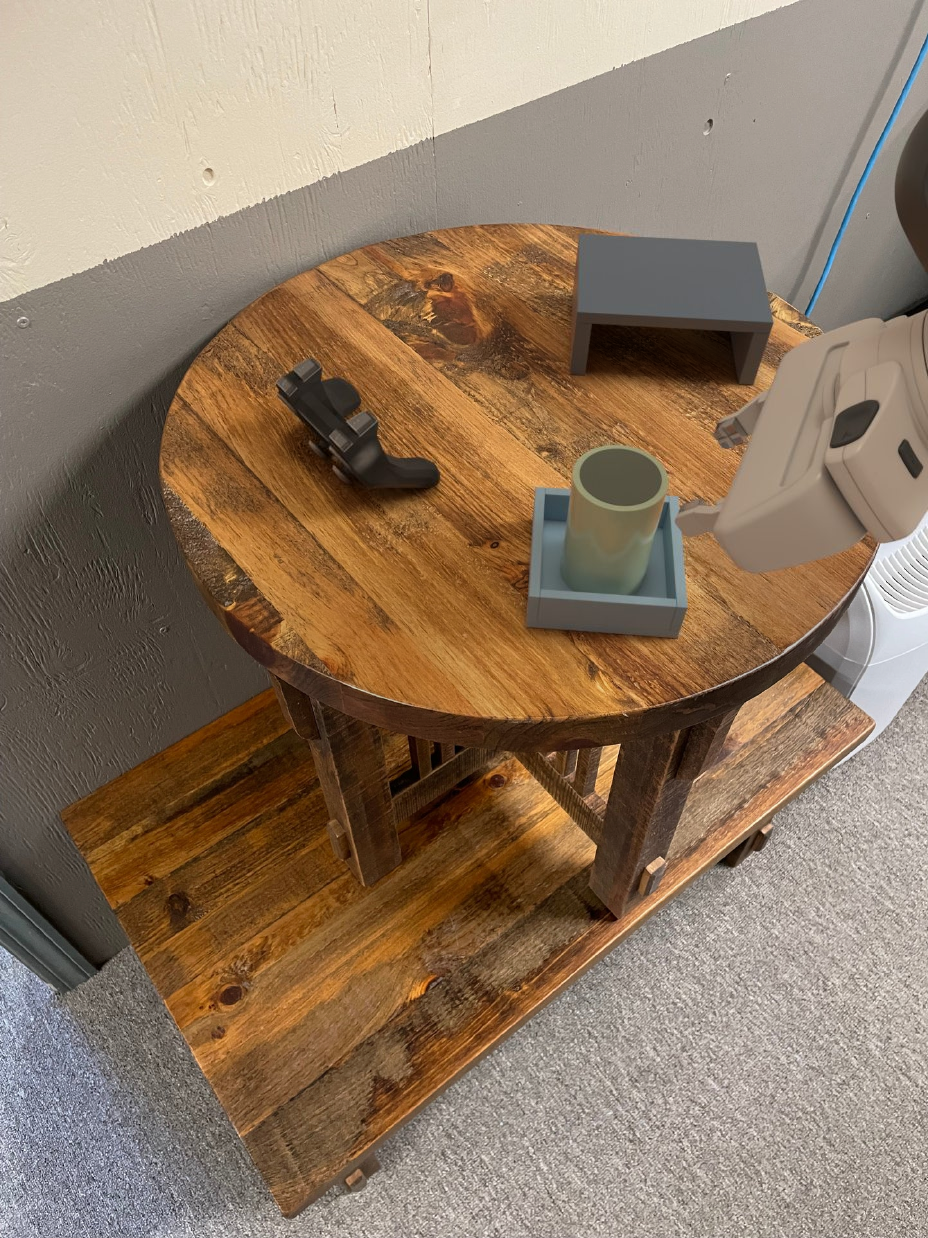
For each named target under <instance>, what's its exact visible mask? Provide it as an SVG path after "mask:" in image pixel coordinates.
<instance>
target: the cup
mask: <svg viewBox="0 0 928 1238" xmlns="http://www.w3.org/2000/svg"><path fill="white" fill-rule="evenodd" d="M669 479H670V478H669V475H668V472H667V469H666V468H665V467H664V465H663V464H662V463H661V461H660V460H659V459H657V458H656V457H655V456H653V455H652V454H650V453H649V452H647V451H645V450H643V449H640V448H637V447H633V446H631V445H630V446H629V445H622V444H608V445H607V444H606V445H602V446H601V445H600V446H598V447H594V448H592V449H590V450H588V451H586V452H584V453H583V454H582V455H581V456H580V457H578V459H577V460H576V461H575V463H574V465H573V468H572V473H571V481H570V487H569V489H570V494H569V502H568V509H567V517H566V524H565V531H564V539H563V546H562V554H561V561H560V571H561V575H562V578H563V579H564V581H565V583H566V584H567V585H568V586H569V587H570V588H571V589H572V590H573V591H574V592H586V593H600V594H614V595H628V596H631V595H633V594H634V593H635V592H637V591H638V589H639V588H640V587H641V586H642V584H643V582H644V579H645V575H646V571H647V567H648V563H649V559H650V555H651V552H652V548H653V544H654V540H655V536H656V532H657V528H658V524H659V521H660V517H661V513H662V509H663V505H664V501H665V497H666V495H667V494H668V490H669V482H670V480H669Z"/></svg>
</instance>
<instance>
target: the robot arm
mask: <svg viewBox="0 0 928 1238" xmlns="http://www.w3.org/2000/svg"><path fill="white" fill-rule="evenodd" d="M897 163H898V164H897V168H896V172H895V179H894V205H895V210H896V214H897V217H898V220H899V223H900V226H901V228H902V231H903V232H904V235H905V236H906V238H907V241H908V242H909V244H910V246H911V248H912V250H913V252H914V254H915V256H916V257H917V259H918V261H919V262H920V265H921V267H922V268H923V270H924V272H925V273H926V275H927V276H928V108H926V110H925V111H924V112H923V114H922V115H921V117H920V118H919V120H918V121H917V122H916V124H915V125H914V127H913V129H912V130H911V132H910V134H909V136H908V138H907V140H906V142H905V144H904V146H903V148H902V151H901V154H900V156H899V160H898V162H897ZM712 435H713V438H714V439H715V441H717V442H718V445H719V447H721V448H722V449H724V450H730V449H732V448H734V447H735V446H736V447H737V446H740V445H743V444H746V442H747V439H748V437H749V439H748V442H747V444H746V447H745V449H744V451H743V454H742V457H741V459H740V461H739V464H738V467H737V468H736V471H735V474H734V476H733V479H732V481H731V483H730V486H729V489H728V491H727V493H726V496H725V497H721V498H719V499H717V500H716V503H715V505H707V504H706V503H705V501H704V500H703V499H702V498H701V497H699V498H695V499H692V500H691V501H690V502H684V503H683V504H682V505H681V506H680V507H679V508H680V510H679V512H678V514H677V516H676V518H675V524H676V525H677V527H678V528H679V529H680V530H681V532H682V534H683V535H684V536H686V537H688V538H692V537H695V536H699V535H702V534H706V533H709V534H713V538H714V539H715V541H716V542H717V544H718V545H719V546H720V547H721V549H722V550H723V552H724V553H725V554H726V555H727V557H728V558H729V559H730V561H731V562H732V563H733V564H734V566H735V567H736V568H738V569H740V570H741V571H744V572H746V573H748V574H753V575H759V574H767V573H771V572H777V571H781V570H786V569H789V568H793V567H798V566H802V565H805V564H809V563H813V562H816V561H819V560H823V559H827V558H830V557H832V556H836V555H838V554H840V553H842V552H845V551H847V550H849V549H851V548H853V547H854V546H856V545H857V544H858V543H859V542H861V541H862V540H863V539H864V538H865V536H866V535H867V534H869V535H870V536H871V538H872V539H873V540H874V541H875V542H876V543H878V544H890V543H893V542H898V541H901V540H903V539H906V538H907V537H909V536H910V535H912V534H913V533H914V532H915V531H916V529H917V528H918V526H919V525H920V523H921V522H922V520H923V519H924V517H925V515H926V514H927V512H928V308H926V309H924V310H922V311H920V312H918V313H915V314H913V315H911V316H907V315H906V314H903V315H900V316H899V315H898V316H896V317H893V318H891V319H889V320H887V321H883V319H881V318H879V317H869V318H865V319H860V320H857V321H853V322H851V323H848V324H846V325H843V326H840V327H838V328H835V329H831V330H829V331H826V332H824V333H822V334H819V335H817V336H815V337H811V338H810V339H807V340H804V341H803V342H800V343H799V344H797V345H796V346H794V347H793V348H791V349H790V350H788V351H787V352H786V353H785V354H784V355H783V356H782V358H781V360H780V361H779V365H778V367H777V369H776V372H775V375H774V377H773V380H772V381H771V385H770V387H769V388H768V389H766V390H763V391H760V393H758V394H757V395H756V396H754V397H753V398H752V399H751V400H749V401H748V402H746V404H744V405H743V406H742V407H741V408H739V409H738V410H737V411H736V412H733V413H731V414H729V415H726V416H724V417H722V418H721V417H720V419H719V420H718V422H717V423H716V427H715V429H714V431H713V434H712Z"/></svg>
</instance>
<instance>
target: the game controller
mask: <svg viewBox="0 0 928 1238" xmlns="http://www.w3.org/2000/svg"><path fill="white" fill-rule="evenodd" d="M291 369H292V370H291V371H289V372H288V373H287V374H285V375H284V374H282V375H281V376H280V377H279V378H278V379H277V380H276V381H275V383H276V384H275V386H276V388H277V390H278V391H277V394H276V396H277V398H278V399H279V400H280V401H281V402H282V403H283V404H284V405H285V406H286V407H287V408H288V409H289V410H290V411H291V412H292V413H293V414H294V416H296V417H297V418H298V419H299V420H300V421H301V422H302V423H303V424H304V425H305V426H306V427H307V428H308V429H309V430H310V431H311V432H312V433H313V434H314V435H315V436H317V438H318V439H319V440H320V441H319V442H318V443H317V444H316V443H315V442H314V441H313V440H311V439H308V445H309V447H310V448H311V450H312V451H313V452H314V454H316V455H317V456H319V458H322V459H324V460H326V459H328V458H329V457H328V455H327V454H326V453H325V452H324V450H325V449H326V448H327V447H328V451H329V452H330V453H332V455H333V456H334V457H335V458H336V459H337V460H338V461H339V462H340V463H341V464H342V465H343V467H342V469H340V468H339V467H337V466H336V465H335V464H332V471H333V472H334V473H335V475H336V476H337V478H338V479H339V480H341V481H342V482H344V483H345V484H346V485H351V484H353V481H351V479H350V478H349V477H348V475H350V473H351V474H352V475H354V477H355V478H356V479H357V480H358V481H359V482H360V483H361V484H362V485H363V486H364V487H365V488H367V489H368V491H371V490H373V489H428V488H433V487H437V486H438V485H439V484H440V483H441V472H440V470H439V468H438V466H437V465H436V463H435V462H434V461H432V460H429V459H426V458H425V457H422V456H414V457H413V456H411V457H397V456H394V455H390V454H387V453H385V451H384V448H383V447H382V444H381V442H380V438H379V437H378V429H379V421H380V420H379V419H378V418H376V416H375V415H373V413H372V412H371V411H369V410H367V411H365V410H362V411H361V412H359V413H358V414H356V415H355V416H353V417H351V418H349V419H348V420H347V419H346V418H345V417H346V416H348V415H350V414H352V413H353V412H355V411H357V410H358V409H359V408H360V407H361V404H362V399H361V397H360V394H359V392H358V390H356V388H355V387H354V385H352V384H351V383H350V382H349V381H348V380H346V379H344V378H341V377H331V378H328V379H323V380H322V378H323V377H322V376H323V366H322V365H321V364H320V363H319V362H318V361H317V360H316V359H315V358H311V359H310V358H309V357H308V358H306V359H305V360H302V361H301V362H299V363H297V364H296V365H295V366H293V367H291Z"/></svg>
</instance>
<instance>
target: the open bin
mask: <svg viewBox="0 0 928 1238" xmlns="http://www.w3.org/2000/svg"><path fill="white" fill-rule="evenodd" d="M569 494H570V488H560V487H545V486H535V489H534V499H533V500H534V501H533V511H532V522H531V523H532V524H531V539H530V554H529V555H530V556H529V571H528V573H529V574H528V587H527V603H526V617H525V618H526V620H525V627H526V628H535V629H547V630H548V629H549V630H550V629H551V630H562V631H576V632H589V633H604V634H617V635H630V636H644V637H656V638H657V637H658V638H669V639H678V638H679V635H680V632H681V629H682V626H683V623H684V621H685V617H686V614H687V611H688V609H689V607H688V594H687V593H688V592H687V582H686V570H685V569H686V568H685V558H684V546H683V535H682V534H683V533H682V532H681V530H680V529H679V528H678V527H677V525H676V524H675V518H676V516H677V514H678V512H679V510H680V508H681V507H680V497H679V495H669V494H668V495H667V494H666V497H665V501H664V505H663V509H662V513H661V517H660V521H659V524H658V528H657V532H656V536H655V540H654V544H653V548H652V552H651V555H650V559H649V563H648V567H647V571H646V575H645V579H644V582H643V584H642V586H641V587H640V588H639V589H638V591H637V592H635V593H634V594H633V595H631V596H628V595H614V594H600V593H586V592H574V591H573V590H572V589H571V588H570V587H569V586H568V585H567V584H566V583H565V581H564V579H563V578H562V575H561V571H560V561H561V554H562V546H563V539H564V531H565V524H566V517H567V509H568V502H569Z"/></svg>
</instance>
